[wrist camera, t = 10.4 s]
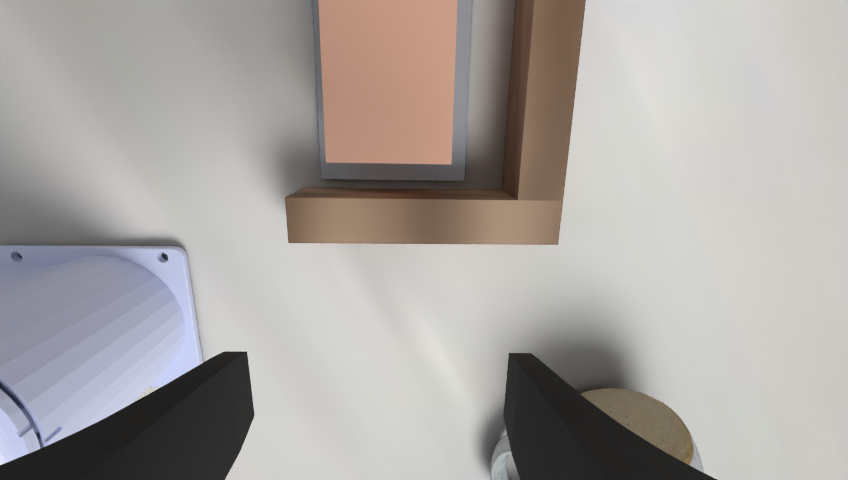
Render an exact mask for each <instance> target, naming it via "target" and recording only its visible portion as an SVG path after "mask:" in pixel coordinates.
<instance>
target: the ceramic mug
mask: <svg viewBox="0 0 848 480" xmlns="http://www.w3.org/2000/svg"><path fill="white" fill-rule="evenodd" d="M580 394H581V395H582V396H583V397H585V398H586V399H587V400H589V401H590V402H591V403H592V404H594V405H595V406H596V407H598V408H599V409H600V410H602V411H603V412H605V413H606V414H607V415H609V416H610V417H612V418H613V419H614V420H616V421H617V422H619V423H620V424H621V425H623V426H624V427H626V428H627V429H629V430H630V431H632V432H634V433H635V434H637V435H638V436H640V437H642V438H643V439H645V440H646V441H648V442H650V443H651V444H653V445H654V446H656V447H658V448H659V449H661V450H663V451H664V452H666V453H668V454H670V455H671V456H673V457H675V458H677V459H679V460H680V461H682V462H684V463H686V464H688V465H690V466H692V467H694V468H695V469H697V470H699V471H701V472H703V473H704V470H703V466H702V462H701V458H700V455H699V453H698V450H697V447H696V445H695V443H694V441H693V438H692V436H691V434H690V432H689V430H688V429H687V427H686V425H685V424H684V422H683V421H682V420H681V418H680V417H679V416H678V415H677V414H676V413H675V412H674V411H673V410H672V409H671V408H669V407H668V406H666V405H665V404H664V403H662V402H660V401H658V400H656V399H654V398H652V397H650V396H648V395H645V394H643V393H639V392H636V391H633V390H626V389H617V388H603V389H596V390H590V391H586V392H583V393H580ZM509 454H512V453H511V449H510V444H509V440H508V435H505V436H503V437H502V438H501V439H500V440H499V441H498V443H497V445H496V447H495V450H494V453H493V457H492V461H491V466H490V477H491V480H509V479H508V476H507V470H506V466H505V463H506V462H507V455H509Z"/></svg>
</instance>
